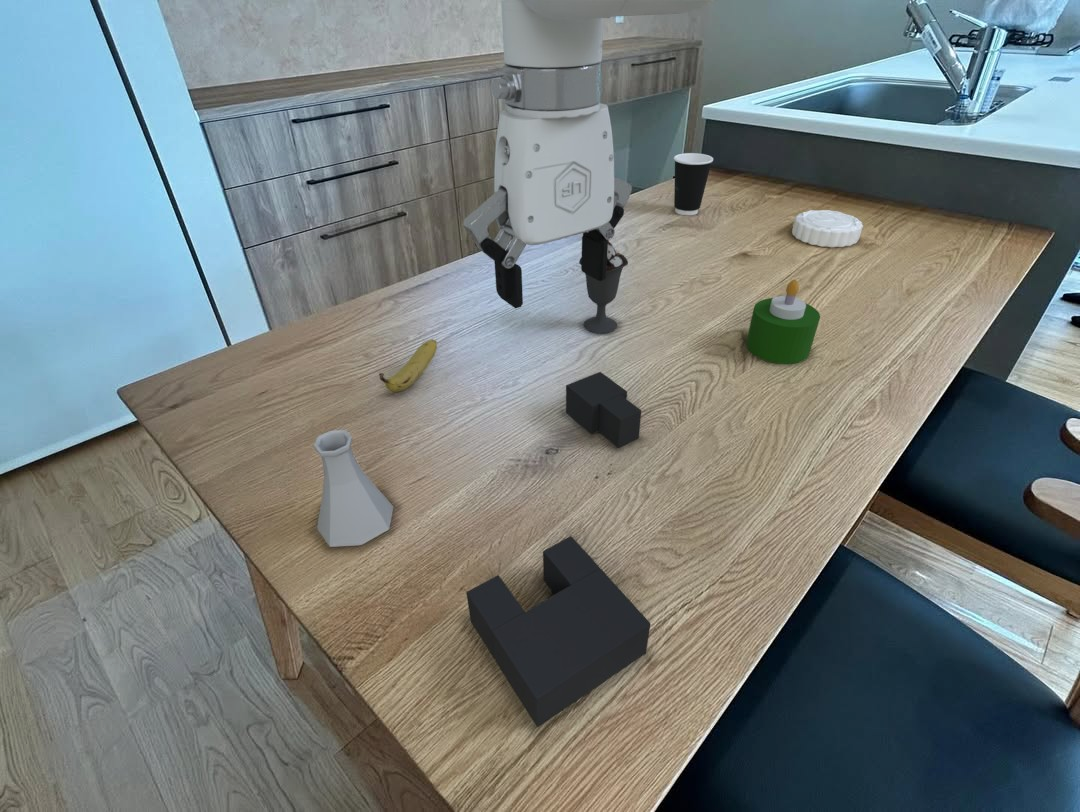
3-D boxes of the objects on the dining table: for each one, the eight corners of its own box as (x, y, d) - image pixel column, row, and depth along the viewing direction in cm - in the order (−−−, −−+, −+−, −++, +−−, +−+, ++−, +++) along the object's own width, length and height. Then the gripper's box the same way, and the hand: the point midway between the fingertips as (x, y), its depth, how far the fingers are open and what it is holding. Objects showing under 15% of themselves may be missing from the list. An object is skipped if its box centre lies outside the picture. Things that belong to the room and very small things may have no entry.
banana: (431, 361, 79) (427, 335, 77) (444, 366, 78) (441, 340, 76) (377, 399, 73) (371, 372, 70) (392, 404, 72) (386, 377, 69)
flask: (401, 535, 55) (381, 455, 49) (321, 559, 53) (291, 478, 47) (387, 485, 60) (368, 407, 54) (314, 505, 58) (286, 426, 52)
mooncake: (848, 226, 117) (854, 208, 115) (866, 249, 108) (872, 230, 105) (786, 224, 119) (790, 206, 117) (798, 246, 109) (803, 228, 107)
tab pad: (565, 412, 70) (565, 385, 67) (598, 398, 72) (600, 371, 70) (611, 452, 64) (613, 423, 62) (645, 435, 66) (649, 407, 64)
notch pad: (470, 621, 48) (465, 591, 45) (570, 565, 52) (571, 535, 49) (537, 728, 41) (536, 699, 38) (646, 653, 45) (651, 623, 43)
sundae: (600, 310, 90) (604, 213, 81) (632, 326, 86) (640, 225, 77) (568, 324, 87) (569, 224, 78) (600, 341, 83) (605, 238, 74)
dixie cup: (713, 213, 125) (721, 158, 118) (685, 220, 122) (692, 165, 115) (687, 203, 130) (694, 150, 124) (660, 210, 127) (665, 156, 121)
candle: (792, 371, 76) (812, 301, 70) (734, 348, 81) (749, 281, 75) (819, 346, 81) (840, 279, 75) (763, 326, 85) (778, 261, 79)
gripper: (480, 110, 40) (496, 330, 50) (666, 83, 47) (647, 279, 58) (432, 95, 45) (455, 298, 55) (608, 73, 52) (599, 255, 63)
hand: (553, 288), depth 56 cm, fingers open, 9 cm apart
